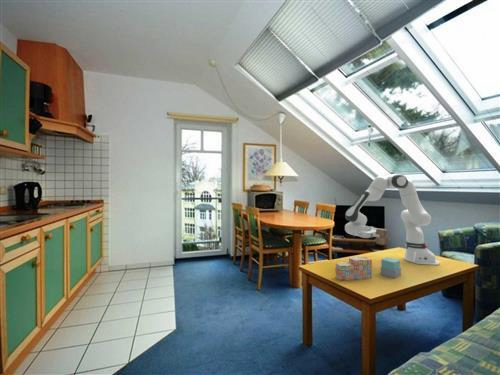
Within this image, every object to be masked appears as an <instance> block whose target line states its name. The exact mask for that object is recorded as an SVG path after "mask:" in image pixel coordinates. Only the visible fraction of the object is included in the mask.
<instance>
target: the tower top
mask: <svg viewBox="0 0 500 375" xmlns="http://www.w3.org/2000/svg"><path fill="white" fill-rule="evenodd" d="M400 263H401V260H400V259H396V258H391V257H384V258H381V264H380V266H381V267H383V268H387V269H391V270H396V269H398V268H401V265H400ZM381 267H380V268H381Z"/></svg>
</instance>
